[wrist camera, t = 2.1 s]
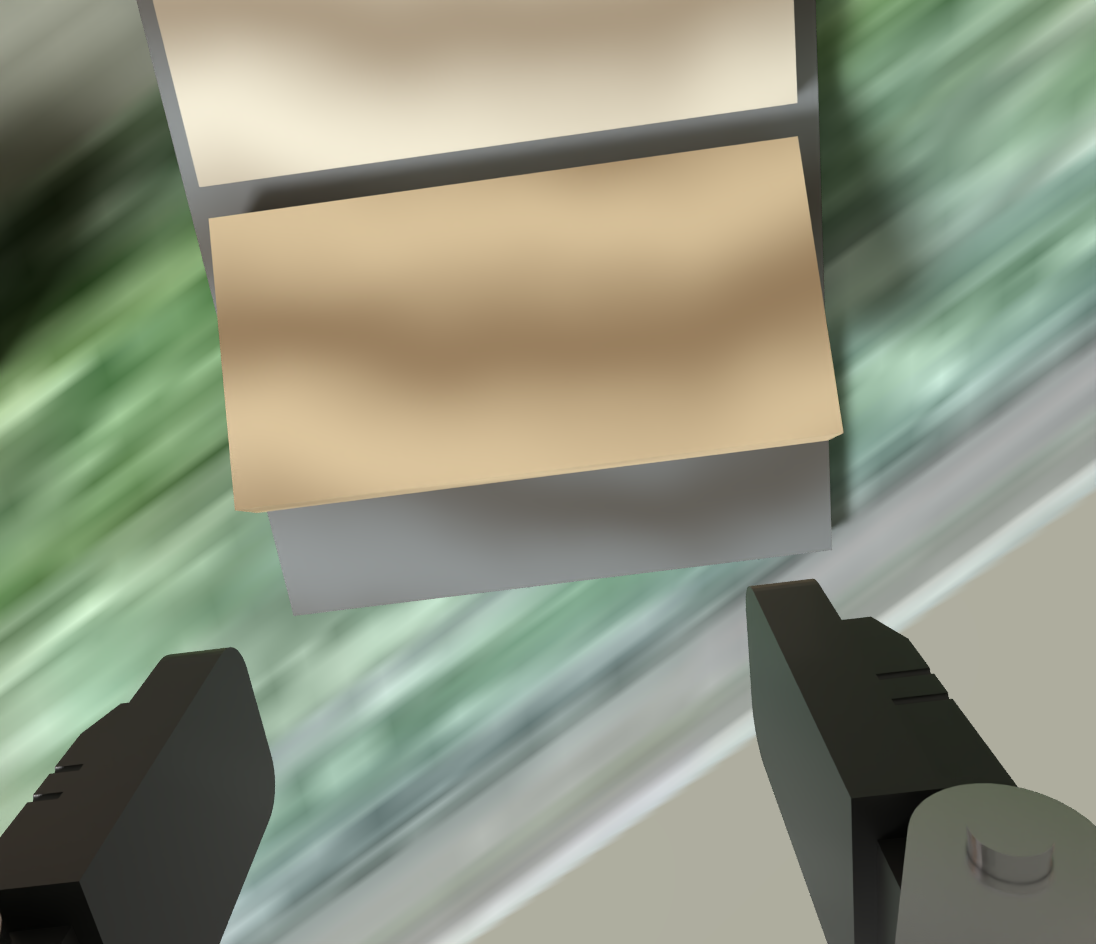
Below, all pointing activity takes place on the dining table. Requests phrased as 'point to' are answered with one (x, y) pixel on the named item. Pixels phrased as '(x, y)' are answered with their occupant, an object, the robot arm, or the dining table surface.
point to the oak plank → (522, 327)
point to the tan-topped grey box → (480, 154)
